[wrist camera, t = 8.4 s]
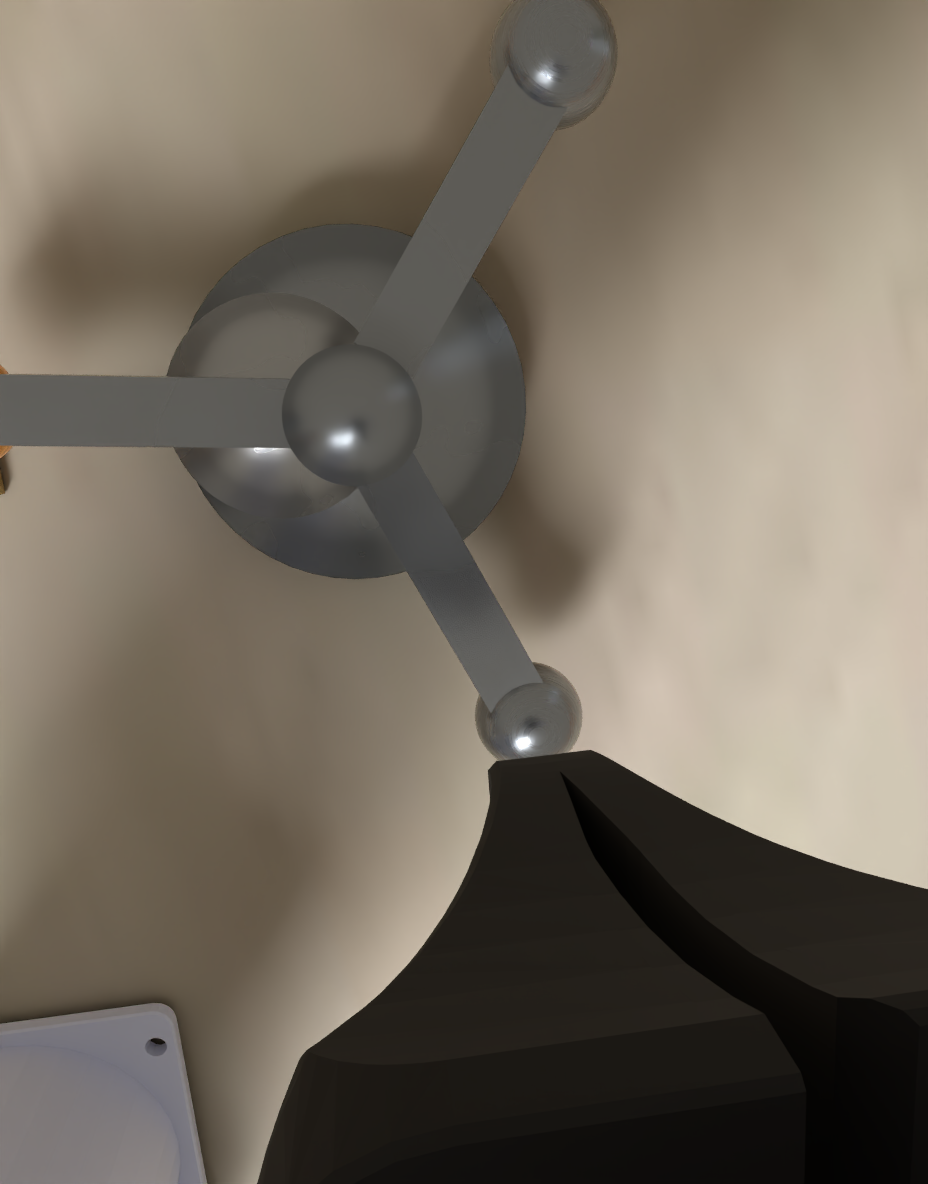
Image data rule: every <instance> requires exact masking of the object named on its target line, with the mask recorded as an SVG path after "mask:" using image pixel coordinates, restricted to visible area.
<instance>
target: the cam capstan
mask: <svg viewBox="0 0 928 1184" xmlns="http://www.w3.org/2000/svg"><path fill="white" fill-rule="evenodd" d="M489 62H490V73H491V78H492V82H493V86H494V91H493V93H492V95H491V96H490V98H489V100H488V102H487V104H486V105H485V107H484V109H483V111H482V113H481V114H480V116H479V118H478V120H477V122H476V123H475V125H474V127H473V129H472V131H471V132H470V134H469V136H468V138H467V140H466V141H465V143H464V145H463V147H462V149H461V150H460V152H459V154H458V156H457V158H456V159H455V161H454V163H453V165H452V167H451V168H450V170H449V172H448V174H447V176H446V177H445V179H444V181H443V183H442V185H441V186H440V188H439V190H438V192H437V194H436V195H435V197H434V199H433V201H432V203H431V204H430V206H429V208H428V210H427V212H426V213H425V215H424V217H423V219H422V221H421V222H420V224H419V226H418V228H417V230H416V231H415V233H414V235H413V237H411V236H408V235H406V234H403V233H400V232H397V231H393V230H389V229H385V228H381V227H377V226H368V225H358V224H333V225H324V226H318V227H312V228H306V229H303V230H299V231H296V232H293V233H290V234H287V235H284V236H281V237H279V238H277V239H275V240H273V241H271V242H269V243H267V244H265V245H263V246H261V247H259V248H258V249H256V250H255V251H253V252H252V253H251V254H249V255H248V256H246V257H245V258H243V259H242V260H240V261H239V262H238V263H237V264H236V265H235V266H234V267H233V268H232V269H230V270H229V271H228V272H227V273H226V274H225V275H224V276H223V277H222V278H221V279H220V281H219V282H218V283H217V284H216V285H215V287H214V288H213V289H212V290H211V291H210V293H209V294H208V295H207V297H206V298H205V300H204V302H203V303H202V305H201V307H200V308H199V310H198V311H197V313H196V315H195V317H194V319H193V321H192V324H191V326H190V328H189V331H188V333H187V334H186V335H185V336H184V338H183V339H182V341H181V343H180V344H179V346H178V347H177V349H176V351H175V353H174V356H173V358H172V360H171V363H170V366H169V369H168V373H167V376H110V375H51V374H9V373H8V372H7V371H6V370H5V369H4V368H3V367H2V366H1V365H0V458H1V457H3V456H4V455H5V454H6V453H7V452H8V451H9V450H10V449H11V448H12V446H95V447H174V448H175V451H176V453H177V454H178V456H179V458H180V460H181V462H182V463H183V465H184V466H185V468H186V469H187V470H188V472H189V473H190V474H191V476H192V477H193V478H194V479H195V480H196V481H197V483H198V485H199V487H200V488H201V490H202V492H203V494H204V496H205V497H206V498H207V500H208V501H209V502H210V504H211V505H212V506H213V508H214V509H215V511H216V512H217V513H218V515H219V516H220V517H221V518H222V519H223V520H224V521H225V522H226V523H227V524H228V525H229V526H230V527H231V528H232V529H233V530H234V531H235V532H236V533H237V534H238V535H240V536H241V537H242V538H243V539H245V540H246V541H247V542H248V543H249V544H251V545H252V546H253V547H255V548H257V549H258V550H260V551H261V552H263V553H265V554H266V555H268V556H269V557H271V558H273V559H275V560H278V561H280V562H282V563H284V564H286V565H288V566H290V567H293V568H296V569H299V570H303V571H306V572H309V573H312V574H317V575H322V576H328V577H333V578H347V579H364V578H378V577H383V576H388V575H393V574H398V573H402V572H405V571H407V572H408V574H409V576H410V577H411V579H412V581H413V582H414V584H415V586H416V588H417V589H418V591H419V593H420V594H421V596H422V598H423V599H424V601H425V603H426V604H427V606H428V608H429V609H430V611H431V613H432V615H433V616H434V618H435V620H436V621H437V623H438V625H439V626H440V628H441V630H442V631H443V633H444V635H445V636H446V638H447V640H448V642H449V643H450V645H451V647H452V648H453V650H454V652H455V653H456V655H457V657H458V658H459V660H460V662H461V663H462V665H463V667H464V669H465V670H466V672H467V674H468V675H469V677H470V679H471V680H472V682H473V684H474V685H475V687H476V689H477V691H478V692H479V697H478V700H477V704H476V709H475V721H476V727H477V731H478V734H479V737H480V739H481V741H482V743H483V745H484V746H485V747H486V749H487V750H488V751H489V752H490V753H491V754H492V755H493V756H494V757H495V758H496V759H497V760H499V761H501V760H510V759H518V758H527V757H535V756H544V755H552V754H561V753H568V752H569V751H570V750H571V749H572V747H573V746H574V745H575V743H576V741H577V739H578V736H579V734H580V730H581V726H582V707H581V702H580V699H579V696H578V694H577V692H576V690H575V688H574V687H573V685H572V684H571V683H570V681H569V680H568V679H567V678H566V677H565V676H564V675H563V674H561V673H560V672H559V671H557V670H556V669H554V668H552V667H550V666H547V665H544V664H541V663H536V662H532V661H531V660H530V658H529V656H528V654H527V653H526V651H525V649H524V647H523V646H522V644H521V642H520V640H519V638H518V637H517V635H516V633H515V631H514V630H513V628H512V626H511V624H510V623H509V621H508V619H507V617H506V616H505V614H504V612H503V610H502V608H501V607H500V605H499V603H498V601H497V600H496V598H495V596H494V594H493V593H492V591H491V589H490V587H489V586H488V584H487V582H486V580H485V578H484V577H483V575H482V573H481V571H480V570H479V568H478V566H477V564H476V563H475V561H474V559H473V557H472V555H471V554H470V552H469V550H468V548H467V547H466V545H465V543H464V541H463V540H464V539H465V538H466V537H467V536H469V535H470V534H471V533H472V532H473V531H474V530H475V529H476V528H477V527H478V526H479V525H480V524H481V523H482V521H483V520H484V519H485V518H486V517H487V516H488V515H489V513H490V512H491V510H492V509H493V508H494V506H495V505H496V503H497V502H498V500H499V499H500V497H501V496H502V494H503V492H504V490H505V488H506V486H507V484H508V482H509V480H510V478H511V476H512V473H513V471H514V468H515V465H516V462H517V460H518V457H519V453H520V449H521V444H522V440H523V435H524V426H525V416H526V399H525V385H524V378H523V372H522V366H521V363H520V359H519V356H518V352H517V349H516V345H515V343H514V340H513V338H512V336H511V334H510V331H509V329H508V327H507V324H506V322H505V321H504V319H503V317H502V316H501V314H500V312H499V311H498V309H497V307H496V305H495V304H494V302H493V301H492V300H491V298H490V297H489V296H488V295H487V293H486V292H485V291H484V289H483V288H482V287H481V286H480V284H479V283H478V282H477V281H476V280H475V279H474V278H473V277H472V274H473V273H474V271H475V269H476V267H477V266H478V264H479V262H480V260H481V259H482V257H483V255H484V253H485V252H486V250H487V248H488V246H489V245H490V243H491V241H492V239H493V238H494V236H495V234H496V232H497V231H498V229H499V227H500V225H501V224H502V222H503V220H504V218H505V217H506V215H507V213H508V211H509V210H510V208H511V206H512V204H513V203H514V201H515V199H516V197H517V196H518V194H519V192H520V190H521V189H522V187H523V185H524V183H525V182H526V180H527V178H528V176H529V175H530V173H531V171H532V169H533V168H534V166H535V164H536V162H537V161H538V159H539V157H540V155H541V154H542V152H543V150H544V148H545V147H546V145H547V143H548V141H549V140H550V138H551V136H552V134H553V133H554V131H555V130H560V129H565V128H568V127H571V126H574V125H576V124H578V123H580V122H581V121H582V120H584V119H585V118H587V117H588V116H589V115H590V114H591V113H593V112H594V111H595V110H596V108H597V107H598V106H599V105H600V104H601V102H602V101H603V99H604V98H605V96H606V94H607V93H608V91H609V89H610V87H611V84H612V81H613V78H614V74H615V70H616V65H617V41H616V35H615V31H614V27H613V25H612V22H611V19H610V17H609V15H608V13H607V12H606V10H605V9H604V7H603V6H602V5H601V3H600V2H599V1H598V0H514V1H513V2H512V3H511V4H510V5H509V6H508V7H507V9H506V10H505V12H504V13H503V15H502V16H501V18H500V20H499V22H498V24H497V26H496V28H495V31H494V34H493V37H492V42H491V47H490V57H489Z"/></svg>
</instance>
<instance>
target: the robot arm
mask: <svg viewBox="0 0 928 1184" xmlns="http://www.w3.org/2000/svg"><path fill="white" fill-rule="evenodd" d="M488 778H489V792H490V805H489V809H488V813H487V817H486V821H485V824H484V828H483V832H482V835H481V838H480V841H479V844H478V846H477V849H476V851H475V854H474V856H473V859H472V861H471V864H470V866H469V869H468V871H467V874H466V876H465V878H464V880H463V882H462V884H461V886H460V888H459V890H458V892H457V894H456V895H455V897H454V899H453V901H452V902H451V904H450V906H449V908H448V909H447V911H446V913H445V914H444V916H443V918H442V919H441V920H440V922H439V923H438V925H437V926H436V928H435V929H434V931H433V932H432V933H431V935H430V936H429V938H428V939H427V941H426V942H425V943H424V945H423V946H422V948H421V949H420V950H419V951H418V953H417V954H416V955H415V956H414V958H413V959H412V960H411V961H410V963H409V964H408V965H407V966H406V967H405V968H404V969H403V970H402V971H401V972H400V973H399V974H398V976H397V977H396V978H395V979H394V980H393V981H392V982H391V983H390V984H389V985H388V986H387V987H386V988H385V989H384V990H383V991H382V992H381V993H380V994H379V995H378V996H377V997H376V998H375V999H373V1000H372V1001H371V1002H370V1003H369V1004H368V1005H367V1006H365V1007H364V1008H363V1009H362V1010H360V1011H359V1012H358V1013H356V1014H355V1015H354V1016H352V1017H351V1018H350V1019H348V1020H347V1021H346V1022H345V1023H343V1024H342V1025H341V1026H339V1027H338V1028H337V1029H335V1030H334V1031H333V1032H331V1033H330V1034H329V1035H327V1036H326V1037H325V1038H324V1039H322V1040H321V1041H319V1042H318V1043H317V1044H315V1045H314V1046H312V1047H311V1048H309V1049H308V1050H306V1052H305V1053H304V1054H303V1055H302V1056H301V1058H300V1060H299V1062H298V1064H297V1067H296V1069H295V1072H294V1074H293V1077H292V1079H291V1082H290V1085H289V1087H288V1090H287V1092H286V1095H285V1098H284V1100H283V1103H282V1106H281V1108H280V1111H279V1114H278V1117H277V1120H276V1123H275V1126H274V1129H273V1132H272V1135H271V1138H270V1141H269V1144H268V1147H267V1150H266V1153H265V1157H264V1161H263V1164H262V1168H261V1172H260V1176H259V1179H258V1183H257V1184H928V889H924V888H920V887H915V886H912V885H908V884H904V883H900V882H897V881H893V880H889V879H885V878H881V877H878V876H874V875H870V874H866V873H862V872H859V871H855V870H852V869H849V868H846V867H842V866H839V865H836V864H833V863H829V862H826V861H824V860H821V859H818V858H815V857H812V856H810V855H807V854H804V853H801V852H799V851H796V850H793V849H790V848H787V847H785V846H782V845H779V844H776V843H774V842H771V841H769V840H767V839H764V838H762V837H759V836H757V835H754V834H752V833H750V832H748V831H746V830H743V829H741V828H739V827H737V826H735V825H733V824H730V823H728V822H726V821H724V820H722V819H720V818H717V817H715V816H713V815H711V814H709V813H707V812H705V811H703V810H701V809H699V808H697V807H695V806H693V805H691V804H689V803H687V802H686V801H684V800H682V799H680V798H678V797H676V796H674V795H673V794H671V793H669V792H667V791H665V790H663V789H662V788H660V787H658V786H656V785H654V784H653V783H651V782H649V781H647V780H646V779H644V778H642V777H640V776H639V775H637V774H635V773H633V772H632V771H630V770H628V769H626V768H625V767H623V766H621V765H619V764H618V763H616V762H614V761H612V760H611V759H609V758H607V757H605V756H603V755H601V754H599V753H597V752H594V751H592V750H586V751H578V752H569V753H561V754H552V755H544V756H535V757H527V758H518V759H510V760H501V761H496V762H495V763H494V764H493V765H492V767H491V768H490V769H489V770H488ZM153 1038H160V1039H162V1040H164V1041H165V1042H166V1043H164V1044H155V1043H153V1042H151V1040H150V1039H153ZM0 1184H207V1180H206V1174H205V1169H204V1164H203V1158H202V1153H201V1147H200V1142H199V1137H198V1131H197V1126H196V1120H195V1115H194V1110H193V1104H192V1099H191V1093H190V1088H189V1083H188V1077H187V1072H186V1066H185V1061H184V1056H183V1050H182V1045H181V1039H180V1034H179V1029H178V1023H177V1018H176V1015H175V1013H174V1011H173V1010H172V1009H171V1008H170V1007H169V1006H167V1005H164V1004H161V1003H149V1004H142V1005H135V1006H127V1007H120V1008H113V1009H105V1010H98V1011H91V1012H83V1013H76V1014H69V1015H61V1016H54V1017H47V1018H39V1019H32V1020H25V1021H17V1022H10V1023H3V1024H0Z"/></svg>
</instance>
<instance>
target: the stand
mask: <svg viewBox="0 0 928 1184" xmlns="http://www.w3.org/2000/svg"><path fill="white" fill-rule="evenodd" d="M4 493H5V490H4V485H3V480H2V475H1V470H0V495H1V494H4Z"/></svg>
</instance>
